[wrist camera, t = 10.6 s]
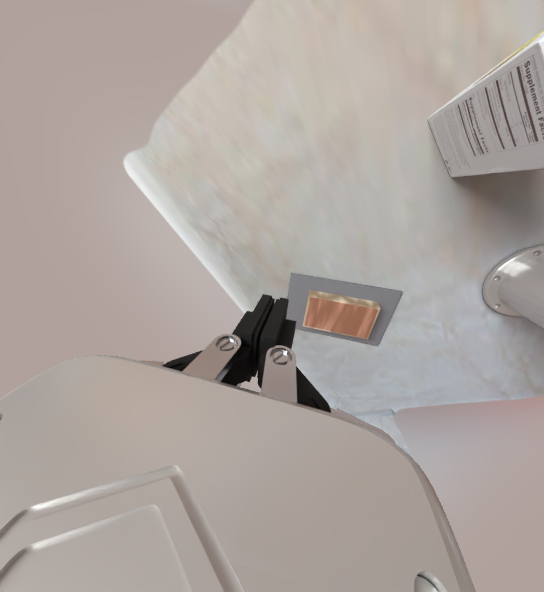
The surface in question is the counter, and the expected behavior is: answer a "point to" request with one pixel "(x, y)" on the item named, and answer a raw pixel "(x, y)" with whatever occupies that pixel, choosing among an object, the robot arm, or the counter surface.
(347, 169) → the counter surface
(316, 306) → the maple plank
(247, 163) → the counter surface
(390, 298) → the rubber mat
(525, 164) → the supplement box
